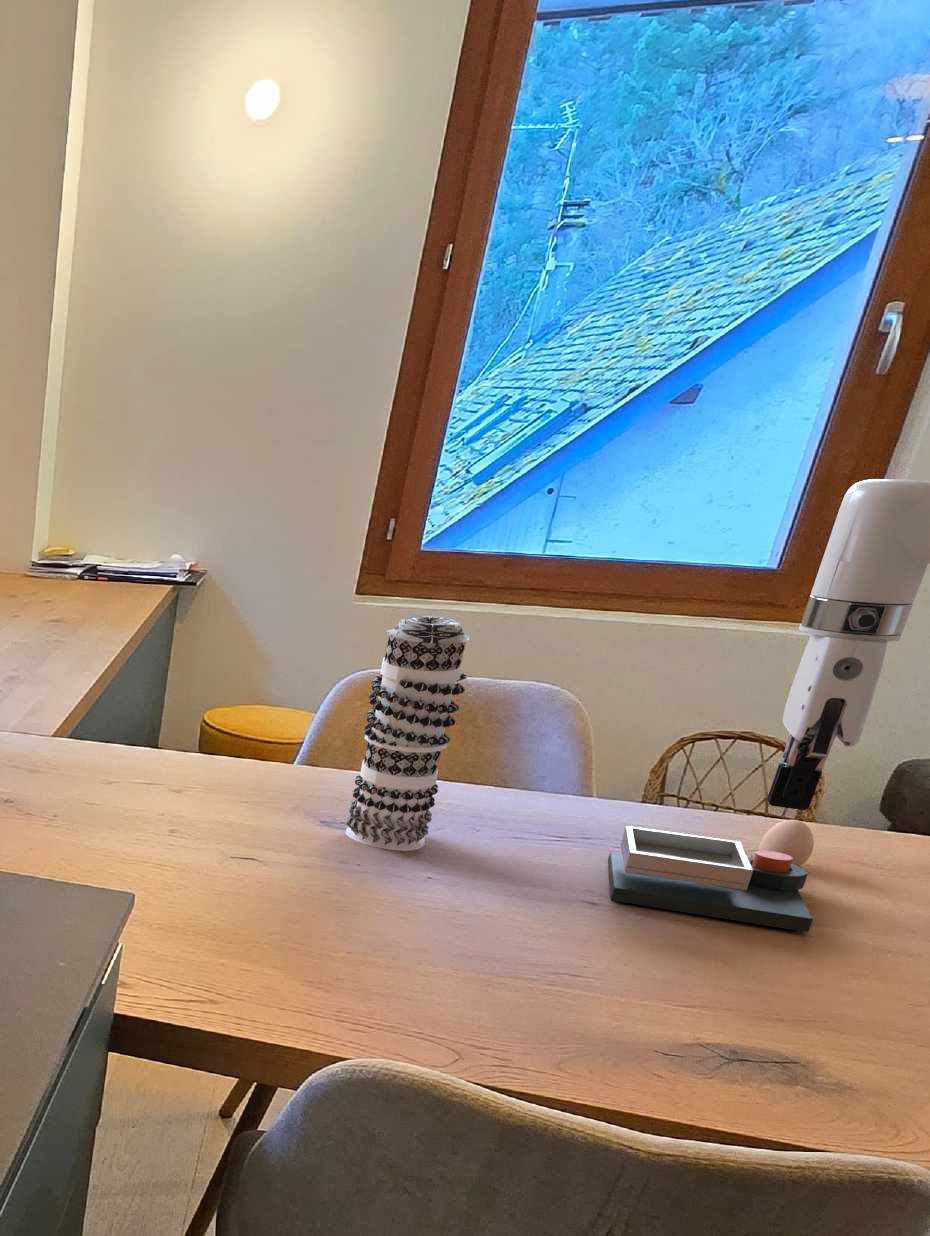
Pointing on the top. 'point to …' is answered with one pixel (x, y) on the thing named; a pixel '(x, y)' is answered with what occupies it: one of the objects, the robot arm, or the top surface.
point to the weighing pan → (686, 857)
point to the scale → (719, 895)
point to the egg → (789, 840)
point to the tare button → (772, 861)
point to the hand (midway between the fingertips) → (786, 805)
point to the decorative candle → (407, 733)
